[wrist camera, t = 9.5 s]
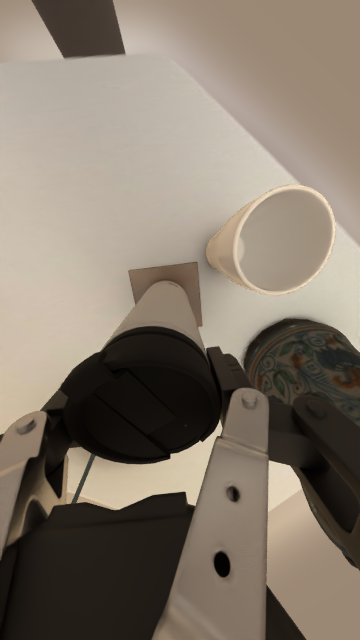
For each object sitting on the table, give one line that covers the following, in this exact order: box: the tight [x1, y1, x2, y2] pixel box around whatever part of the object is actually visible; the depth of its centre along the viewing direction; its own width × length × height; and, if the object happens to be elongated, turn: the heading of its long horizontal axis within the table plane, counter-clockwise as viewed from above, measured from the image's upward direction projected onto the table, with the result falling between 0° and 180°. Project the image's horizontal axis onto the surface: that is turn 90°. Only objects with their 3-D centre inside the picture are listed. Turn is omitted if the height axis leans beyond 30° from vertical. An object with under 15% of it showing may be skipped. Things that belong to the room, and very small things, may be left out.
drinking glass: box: [206, 185, 336, 295], centre depth 18 cm, size 7×7×15 cm
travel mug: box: [60, 280, 221, 464], centre depth 16 cm, size 6×7×20 cm
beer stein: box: [244, 319, 360, 568], centre depth 21 cm, size 16×19×25 cm
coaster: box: [129, 262, 202, 327], centre depth 27 cm, size 10×10×1 cm
